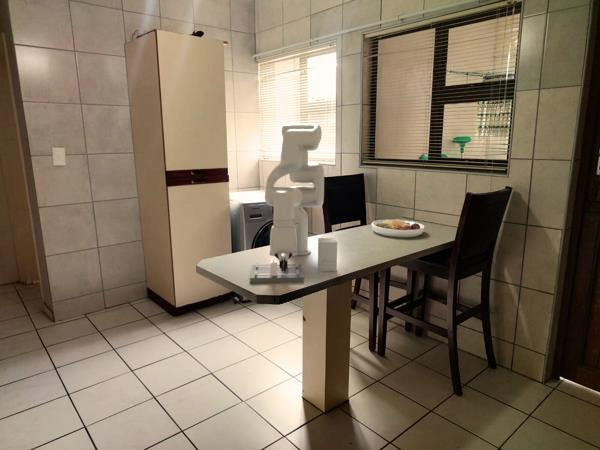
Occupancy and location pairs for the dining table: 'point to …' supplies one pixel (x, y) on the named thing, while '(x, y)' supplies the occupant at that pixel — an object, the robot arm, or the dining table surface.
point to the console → (289, 276)
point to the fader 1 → (273, 267)
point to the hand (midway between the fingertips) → (283, 269)
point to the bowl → (397, 228)
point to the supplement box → (327, 254)
